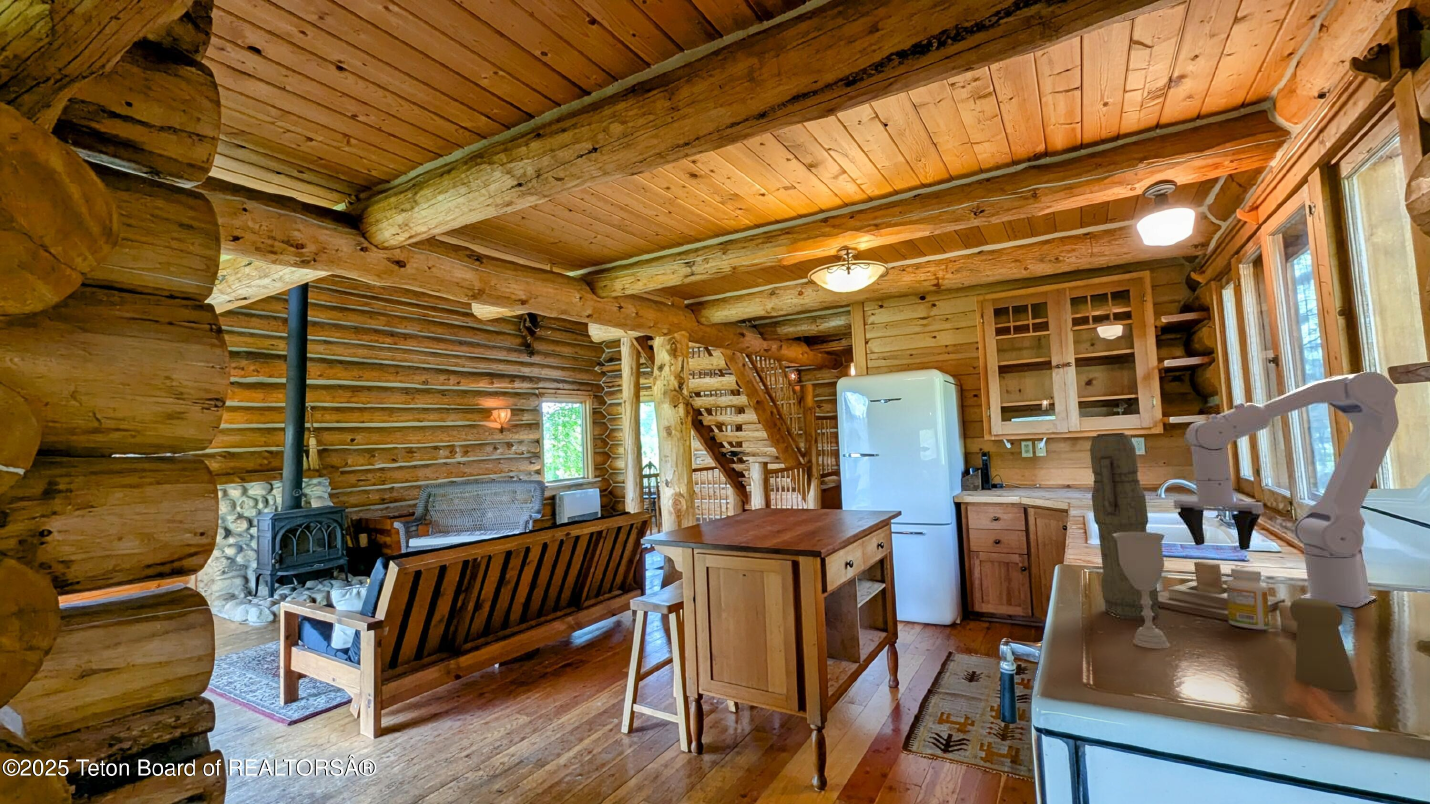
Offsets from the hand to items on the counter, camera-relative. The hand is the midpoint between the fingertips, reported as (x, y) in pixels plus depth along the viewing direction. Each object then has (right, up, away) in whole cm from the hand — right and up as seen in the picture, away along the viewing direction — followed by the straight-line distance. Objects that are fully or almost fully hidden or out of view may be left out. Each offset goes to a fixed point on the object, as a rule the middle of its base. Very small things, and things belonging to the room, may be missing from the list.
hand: (1221, 546), depth 121 cm
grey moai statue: (-22, -12, -5) cm, 25 cm away
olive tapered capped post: (-19, -9, -39) cm, 44 cm away
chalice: (-30, -11, -21) cm, 38 cm away
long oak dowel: (-5, -11, -3) cm, 12 cm away
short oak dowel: (-4, -9, -19) cm, 22 cm away
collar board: (-5, -11, -3) cm, 12 cm away
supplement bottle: (-9, -10, -16) cm, 21 cm away
